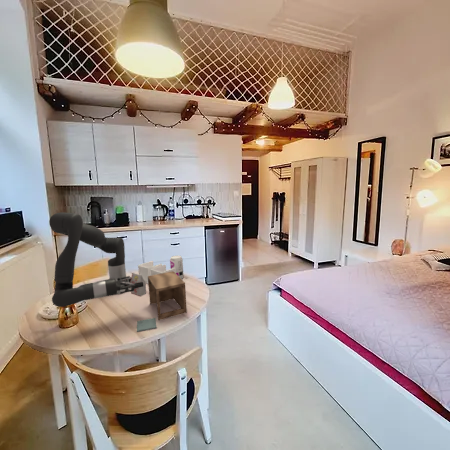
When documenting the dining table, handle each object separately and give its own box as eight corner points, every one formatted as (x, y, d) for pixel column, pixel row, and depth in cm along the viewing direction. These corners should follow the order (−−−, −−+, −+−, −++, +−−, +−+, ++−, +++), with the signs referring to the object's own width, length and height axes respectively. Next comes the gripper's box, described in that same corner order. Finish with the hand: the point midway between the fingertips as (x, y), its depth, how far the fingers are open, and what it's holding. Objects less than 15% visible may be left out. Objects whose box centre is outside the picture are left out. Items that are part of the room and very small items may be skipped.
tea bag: (137, 290, 128) (135, 271, 126) (146, 293, 124) (144, 274, 122) (131, 293, 125) (129, 274, 123) (140, 296, 121) (138, 276, 119)
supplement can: (173, 281, 168) (171, 259, 165) (169, 277, 175) (168, 256, 172) (185, 279, 171) (183, 257, 169) (181, 275, 179) (180, 254, 176)
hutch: (158, 320, 121) (156, 289, 118) (150, 303, 138) (147, 276, 135) (186, 312, 127) (185, 282, 125) (175, 297, 144) (173, 271, 142)
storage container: (139, 280, 171) (138, 265, 169) (153, 275, 180) (152, 260, 178) (162, 290, 156) (161, 272, 154) (176, 284, 164) (175, 267, 162)
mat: (136, 332, 112) (136, 330, 112) (137, 322, 120) (137, 321, 120) (156, 328, 114) (156, 327, 114) (155, 318, 122) (155, 317, 122)
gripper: (104, 286, 110) (143, 278, 117) (103, 275, 122) (138, 269, 130) (106, 302, 111) (145, 293, 119) (104, 290, 124) (139, 283, 131)
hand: (141, 281), depth 124 cm, fingers closed on tea bag, 8 cm apart
